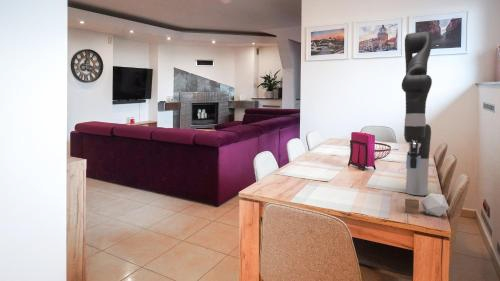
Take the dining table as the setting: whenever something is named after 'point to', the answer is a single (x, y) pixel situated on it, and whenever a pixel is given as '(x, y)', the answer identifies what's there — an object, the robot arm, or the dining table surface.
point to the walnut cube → (412, 206)
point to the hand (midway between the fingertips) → (413, 167)
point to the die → (435, 204)
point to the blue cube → (416, 164)
